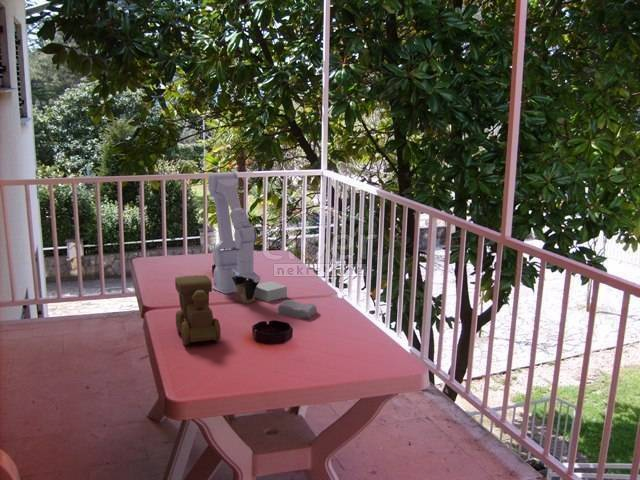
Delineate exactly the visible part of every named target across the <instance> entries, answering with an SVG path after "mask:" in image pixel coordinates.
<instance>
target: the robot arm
mask: <svg viewBox="0 0 640 480" xmlns="http://www.w3.org/2000/svg"><path fill="white" fill-rule="evenodd" d="M207 183H208V193H209V196H210V197H212V198H213V200H214V201H213V202H214V209H215V214H216V215H215V216H216V222H217V223H216V224H217V228H218V229H217V230H218V238H219V242H218V243H217V244H216V245H215V246H214V247H213V263H214V265H215V268H214V270H213V286H212V290H216V291H217V292H220V293H222V294H225V295H226V294H232V293H237V285H238V284H242V283H244V285H245V288H246V297H247V299H248V300H249V299H253V295H254V292H255V289H256V286H257V285H258V284H260V283H261V276H260V275H258V274H257V273H256V272H255V271H254V267H255V265H254V264H255V263H254V262H255V259H254V255H255V254H254V251H255V250H254V245H255V244H254V243H255V242H256V241H257V239H258V236H257V235H258V234H257V229H256V228H255V226H254V225H253V224H252V223H251V221H249V218H248V214H247V212H246V211H247V210H246V209H244V208H242V206H241V201H240V199H239V198H240V197H239V195H238V188H239V176H238V174H237V173H236V172H235V171H232V172H217V173H216V172H215V173H214V172H211V173H210V174H209V176H208V180H207ZM230 210H231V212H230ZM232 225H233V229H234V233H233V229H232ZM233 236H234V237H233ZM259 282H260V283H259Z"/></svg>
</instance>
